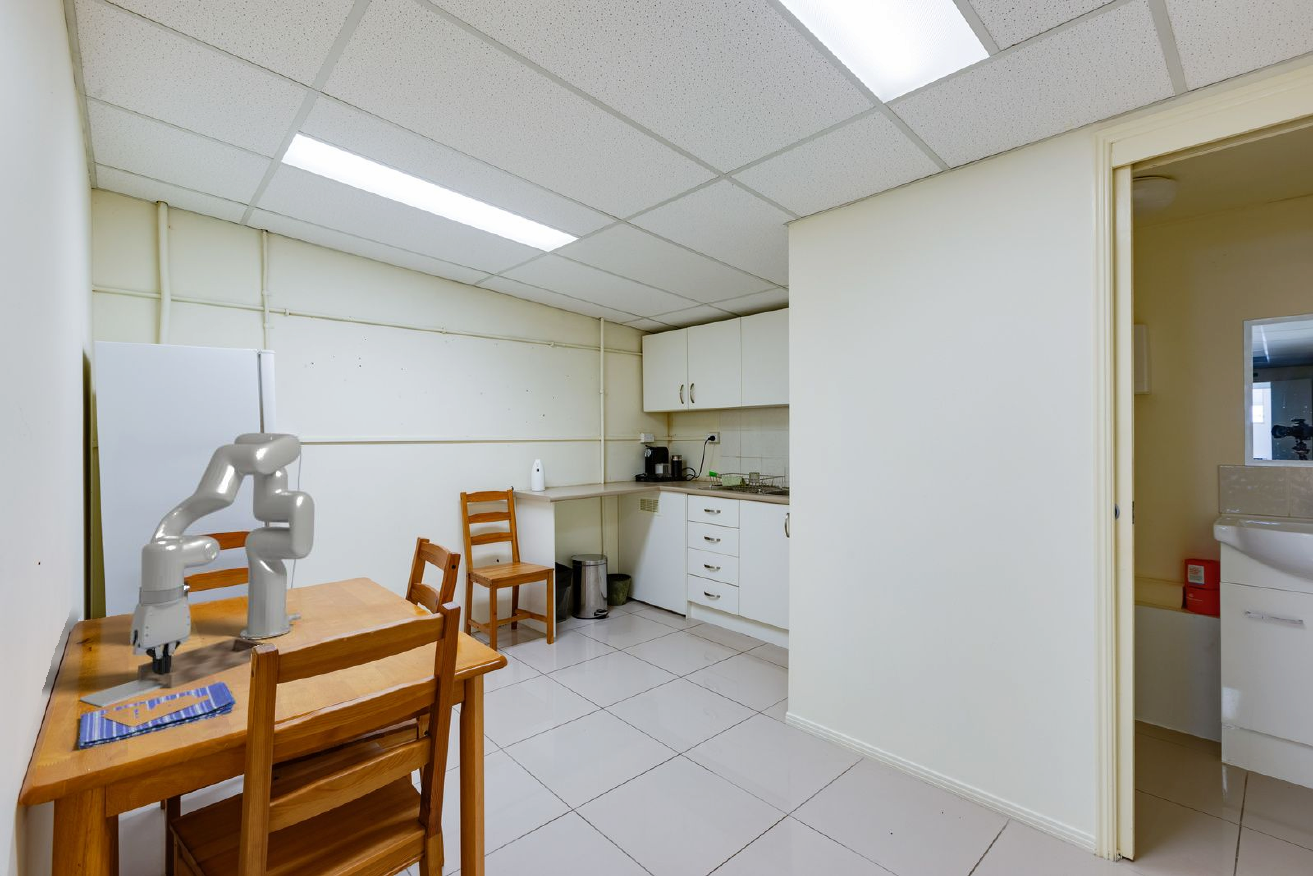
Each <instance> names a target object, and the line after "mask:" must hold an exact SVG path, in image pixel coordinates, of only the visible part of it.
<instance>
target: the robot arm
mask: <svg viewBox="0 0 1313 876" xmlns="http://www.w3.org/2000/svg"><path fill="white" fill-rule="evenodd" d="M301 452H302V443H301V441H300V439H299V438H298V437H297V436H296V435H293V434H290V433H270V432H269V433H268V432H251V433H241V434H239V435H238V436H237V437H235V439H234V442H233V444H232V443H230V444H224V445H222V446H219V447H218V448H217V449H215V451H214V452H213V455H212V456H211V458H210V461H209V463H208V464H207V467H206V469H205V470H204V473H203V475H202V477H201V479H200V481H199V483H198V485H197V487H196V490H195V491H194V493H193V494H191V496H189V497H187V498H185V499H184V500H182V502H180V503H179V504H177V505H176V506H175V507H174V508H173V509H171V510H170V511H169V512H168V513H166V515H165V516H163V518H162V519H161V521H159V523H158V525H157V527H156V528H155V531H154V532H153V535H152V537H151V539H150V542H149V543H148V544H145V545H144V546H143V547H142V550H141V567H140V568H141V574H140V575H141V576H140V577H141V579H140V580H141V581H140V584H141V586H140V587H141V603H140V604H139V603H137V604H136V606H135V609H134V611H133V616H132V620H131V629H130V640H129V642H130V646H131V647H133V651H132V655H133V656H145V655H146V656H149V657H150V658H151V659H152V661H151V662H152V670H153V672H154V673H155V674H158V675H164V674H165V673H166V674H167V673H170V667H171V659H172V656H174V655H175V652H176V650H177V649H178V647H179V646H180V645H182V644H184V643H186V642H188V641H189V640H190V634H191V630H192V623H191V622H192V619H191V612H190V611H191V610H190V605H189V601H187V598H186V597H185V596H184V592H185V591H187V590H188V591H190V588H191V587H190V585H189V584H188V585H184V581H185V570H186V569H188V568H189V569H191V568H198V567H199V568H200V567H204V566H207V565H209V564H211V563H213V562H214V561H215V560H216V559H217V558H218V556H219V555H220V551H221V544H220V543H219V541H217V540H218V539H215V538H214V537H211V536H209V535H191V534H190V535H187V534H185V535H184V532H185V531H186V530H187V529H188V528H189V527H190V526H191V525H192V524H193V523H194V522H196V521H198V520H200V519H202V518H203V517H205V516H208V515H211V514H213V513H216V512H218V511H221V510H224V509H226V508H228V507H230V506H232V505H233V503H234V502H235V499H236V497H237V496H238V495H237V494H238V492H239V490H240V487H241V485H242V483H243V480H244V479H245V477H246V476H252V477H253V489H252V490H253V495H252V514H253V517H254V519H256V520H257V521H258V522H262V523H277V524H278V523H283V524H285V523H287V524H288V526H262V527H257V528H255V529H253V530H251V531H250V532H249V533H248V535H247V536H246V538H245V541H244V549H245V554H246V558H247V565H248V566H247V567H248V583H247V584H248V585H247V588H248V589H247V612H246V613H247V617H246V619H247V620H246V621H247V622H246V623H247V625H246V626H247V627H246V628H245V629H243V630H241V632H240V635H239V636H241V637H242V639H243V638H245V639H247V640H248V639H252V638H263V637H269V636H276V635H279V634H283V633H285V632H288V631H290V629H291V628H292V627H293V626H292V625H291V624H290V623H291V622H292V621H296V620H299V619H300V620H301V618H302V613H300V612H295V613H293V614H292V613H287V592H288V591H287V590H288V589H287V584H288V582H287V581H288V571H287V567H286V566H285V564H284V562H283V560H302V559H306V558H307V557H308V556H309V555H310V553H311V552H312V549H313V545H314V536H315V534H314V533H315V503H314V500H313V497H312V496H311V494H309V493H307V492H306V491H301V490H289V486H288V485H289V481H288V480H289V479H288V477H289V476H288V471H287V469H286V466H288V465H290V464H292V463H294V462H295V461H296V460H298V458H299V457H300V454H301ZM291 630H292V629H291ZM290 632H291V631H290ZM288 633H289V632H288ZM283 635H284V634H283ZM241 637H240V638H241Z"/></svg>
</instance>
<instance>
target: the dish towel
mask: <svg viewBox="0 0 1313 876" xmlns="http://www.w3.org/2000/svg"><path fill="white" fill-rule="evenodd" d="M186 696H193V698H197V699H198V698H202V697H204V696H207V697H208V699H206V700H204V701H200V702H198V703H197V702H196V703H195V704H192V705H189V706H187V707H184V708H181V709H178V710H175V711H173V712H170V713H168V714H165V715H162V716H160V717H157V718H154V719H151V720H149V721H147V722H144V723H141V724H138V725H135V726H131V725H128V724H125V723H122V722H118V721H116V720H113V719H110V718H107V717H104V716H103V715H106V714H107V712H108V711H110V710H111V709H104V710H103V709H100V710H96V711H92V712H87V713H81V715H80V724H79V725H80V726H81V727H79V733H80V736H79V735H78V749H79V751H82V750H83V749H88V748H95V747H94V746H96V747H99V745H100V746H103V745H102V744H104V745H106V744H107V743H108V744H111V743H110V742H112V743H117V742H120V741H122V740H123V741H124V740H127V738H128V739H132V738H136V737H139V736H143V735H147V734H152V733H151V732H153V733H157V732H159V731H164V730H168V729H167V728H169V729H172V728H176V727H179V725H180V726H183V725H182V724H185V723H189V724H192V722H193V723H196V721H197V722H200V721H199V720H201V721H203V720H202V719H205V720H208V719H211V718H212V717H213V718H216V717H215V716H217V717H219V716H218V715H220V714H224V715H226V714H225V713H227V714H230V713H231V711H232V712H233V709H232V708H233V707H234V705H235V704H237V701H236V700H235V698H234V697H233V695H232V693H231V691H230V689H229V687H228V685H226V683H225V682H224V681H223V682H221V681H219V682H216V683H213V684H210V685H207V686H204V687H200V688H195V689H191V690H188V691H185V692H179V693H175V694H170V695H164V696H161V697H160V696H159V697H158V698H157V697H156V698H153V699H148V700H145V701H139V702H135V703H129V704H126V705H122V706H117V707H114V708H113V710H114V712H115V711H120V710H122V709H126V708H132V707H136V706H139V705H140V706H141V705H143V704H144V705H146V707H145V708H146V711H150V710H153V709H154V708H155V707H156V706H157V705H160V704H162V703H165V702H167V701H173V700H175V699H178V698H182V697H186ZM167 706H168V707H170V706H171V704H168V705H167ZM140 709H141V708H136V709H135V710H134V711H133V717H134V718H133V720H135V719H138V718H140V717H141V716H140V712H138V711H139V710H140ZM229 712H230V713H229ZM137 715H139V716H137ZM185 725H186V724H185ZM79 737H80V739H79ZM131 737H132V738H131ZM119 740H120V741H119ZM108 744H107V745H108Z"/></svg>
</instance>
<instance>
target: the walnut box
mask: <svg viewBox="0 0 1313 876" xmlns="http://www.w3.org/2000/svg"><path fill="white" fill-rule="evenodd" d="M263 644H267V643H266V642H262V641H261V642H260V641H256V640H248V639H243V638H241V637H233V638H230V639H227V640H223V641H220V642H216V643H212V644H210V645H206V646H202V647H199V648H196V649H192V650H188V651H184V652H181V653H178V654H173V655H172V659H171V667H170V673H167V674H166V673H165V674H164V675H158V674H155V673H154V672H153V670H152V661H150V662H147V663H144V664H140V665H138V666H137V680H138V679H142V678H144V679H148V680H151V681H155V682H159V683H162V684H164V687H165V688H168V689H175V688H177V687H180V686H183V685H185V684H189V683H191V682H195V681H198V680H200V679H203V678H206V677H209V676H212V675H215V674H219V673H221V672H222V673H223V672H225V671H228V670H231V669H234V668H236V667H239V666H242V665H246V664H249V663H252V662H251V654H252V649H253V647H254V646H257V645H263Z"/></svg>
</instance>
